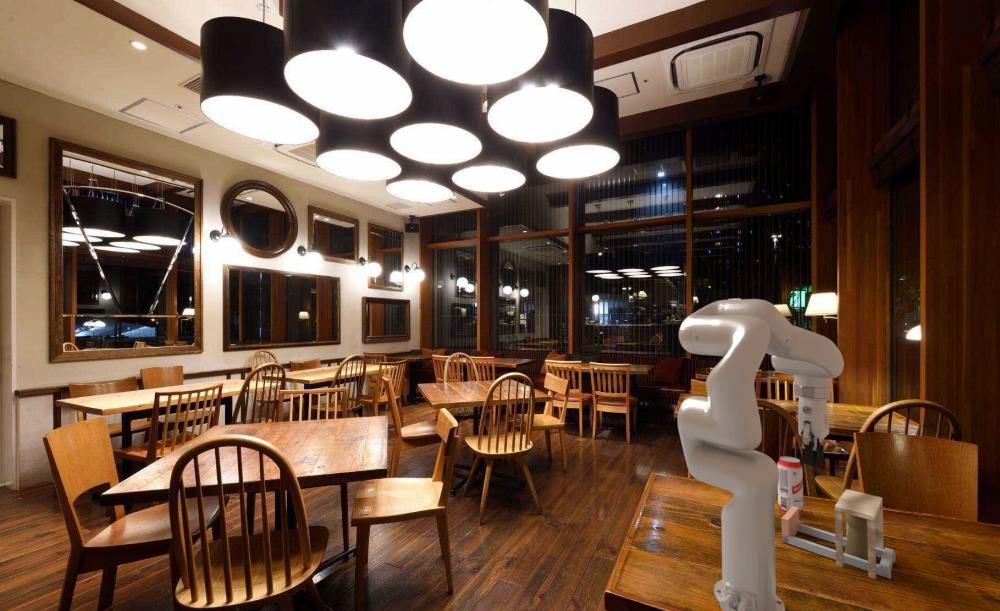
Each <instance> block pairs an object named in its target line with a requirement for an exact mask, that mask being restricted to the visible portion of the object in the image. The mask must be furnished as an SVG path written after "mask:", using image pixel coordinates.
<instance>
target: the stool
mask: <svg viewBox="0 0 1000 611" xmlns="http://www.w3.org/2000/svg"><path fill="white" fill-rule="evenodd" d="M883 509H884V508H883V497H882V496H881V497H880V496H877V495H873V494H869V493H865V492H860V491H855V490H852V489H848V488H846V489H845V490H844V492H843V493H842V494H841V495H840V497H839V499H838V500H837V502H836V504H835V505H834V525H835V526H834V527H835V528H834V529H835V533H834V534H835V538H836V543H835V550H836V560H835V566H838V567H840V568H844V563H843V553H844V546H843V537H844V532H843V531H844V528H843V525H844V524H843V513H844V514H845V515H846V514H851V515H854V516H858V517H861V518H865V519H867V535H868V571H867V572H868V574H867V575H868V578H871V579H874V580H876V579H877V574H876V562H877V558H876V547H878V548H881V549H885V547H884V518H883V517H884V516H883V515H884V514H883V513H884V512H883ZM848 527H849V525H848V524H847V522H846V521H845V532H846V533H845V538H847V534H848Z"/></svg>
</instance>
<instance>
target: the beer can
mask: <svg viewBox="0 0 1000 611" xmlns="http://www.w3.org/2000/svg"><path fill="white" fill-rule="evenodd" d="M776 464H777V466H778V469H779V484H778V489H777V508H778V509H779V511H780V512H781V513H782V514H784V515H785V514H786V512H787V511H788V510H789V509H790V508H791V507H792V506H794V507H798V508H799V517H800V516H803V514H804V484H803V483H804V482H803V481H804V480H803V479H804V477H803V466H802V463H801V460H800V459H799V458H796V457H794V456H793V457H792V456H787V455H786V456H784V455H783V456H779V460H778V461H777V463H776Z"/></svg>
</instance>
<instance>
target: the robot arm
mask: <svg viewBox="0 0 1000 611" xmlns="http://www.w3.org/2000/svg"><path fill="white" fill-rule="evenodd" d="M678 339H679V343H680V345H681V347H682V348H683V349H684V350H685V351H687V352H688V353H690V354H695V355H703V356H714V357H715V356H717V357H722V358H721V359H720V360H719V362H718V363H717V364H716V365H715V366H714V367H713V368H712V369H711V371H710V373H709V374H708V376H707V378H706V381H705V388H706V394H707V396H702V395H692V396H689V397H686V398H685V399H684V400H683V401H682V402H681V404H680V405H679V409H678V413H677V429H678V434H679V438H680V441H681V442H680V443H681V446H682V450H683V456H684V458H685V462H686V467H687V469H688V470H687V471H688V472H689V473H690V475H691V476H692V477H693V478H694V479H696V480H697V481H699V482H702V483H704V484H707V485H709V486H713V487H716V488H719V489H722V490H724V491H726V492H730V493H731V494H732V495H733V497H732V498H731V499H729V500H728V501H727V502H726V503H725V504H724V505H723V507H722V509H721V516H720V518H721V519H720V520H721V569H722V571H721V572H722V573H721V576H722V577H721V578H722V579H720V580H717V581H716V583H715V584H714V588H713V589H714V590H713V591H714V597H715V598H716V601H718V603H719V606H720V609H721V610H722V611H786V607H785V604H784V601H783V600H782V599H781V598H780V597H779V596H778V595H777V593H776V592H777V591H776V590H777V589H776V588H777V586H776V535H775V512H776V501H777V496H778V484H779V469H778V466H777V464H778V463H777V462H775V460H774V459H773V458H772V457H770V456H769V455H768V454H765V453H763V452H761V451H758V450H755V449H757V448H758V447H760V444H761V443H762V438H763V437H762V436H763V433H762V432H763V431H762V423H761V418H760V413H759V407H758V402H757V397H756V389H755V383H756V382H755V380H756V377H757V374H758V371H759V369H760V366H761V364H762V363H763V362H762V361H763V360H764V357H765V355H766V354H768V355H769V356H771V358H770V360H771V364H772V367H773V368H774V370H775V371H777V372H779V373H780V374H784V375H788V376H789V375H790V376H793V393H794V394H793V395H794V396H793V397H794V398H797V399H798V406H797V407H798V409H797V411H798V412H797V415H798V416H797V424H798V426H797V427H798V429H797V430H798V435H799V436H800V437H802V438H801V439H802V444H801V457H802V459H801V460H802V463H801V464H803V465H808V466H812V467H819V461H820V462H822V461H824V445H823V444H824V439H825V438H826V437H827V436H828V435H829V434H830V423H829V411H828V410H829V409H828V401H830V400H831V384H830V383H831V379H836V378H838V377H839V376H840V375H841V374H842V373H843V370H844V367H845V366H844V365H845V362H844V358H843V355H842V353H841V351H840V349H839V348H838V347H837V345H836V344H835V343H834V341H832V340H831V339H830V338H828V337H826V336H824V335H821V334H819V333H817V332H814V331H810V330H808V329H805V328H802V327H799V326H797V325H793V324H792V323H791V322H790V321H789V320H788V319H787V317H785V316H784V314H783V313H782V312H781V311H780V310H779V309H778V307H776V306H775V305H774V304H773V303H772V302H769V301H768V300H764V299H759V298H750V299H749V298H747V299H746V298H744V299H722V300H716V301H713V302H711V303H709V304H707V305H705V306H704V307H701V308H700V309H698V310H696V311H695V312H693V313H691V314H690V315H688V316H687V317H686V318H684V320H683V321H682V323H681V325H680V327H679V331H678Z"/></svg>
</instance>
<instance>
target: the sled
mask: <svg viewBox="0 0 1000 611" xmlns="http://www.w3.org/2000/svg"><path fill="white" fill-rule="evenodd" d="M780 520H781V521H780V522H781V542H783V543H785V544H789V545H791V546H795V547H797V548H800V549H804V550H806V551H809V552H812V553H815V554H818V555H820V556H823V557H825V558H830V559H833V560H835V561H836V549H834V548H830V547H827V546H825V545H824V546H823V545H821V544H818V543H815V542H812V541H809V540H806V539H803V538H800V537H797V536H796V535H797V533H798V532H800V533H803V534H806V535H809V536H812V537H815V538H818V539H822V540H825V541H828V542H831V543H834V544H836V538H835V533H832V532H829V531H826V530H824V529H823V530H822V529H819V528H816V527H813V526H809V525H806V524H803V523H800V516H799V508H798V507H794V506H792V507H791V508H790V509H789V510H788V511H787V512H786V514H784V515H783V516H782V517H781V518H780ZM846 541H847V538H846V536H843V547H846ZM876 557H877V558H880V559H881V560H880V562H879V563H877V564H876V575H878V576H881V577H884V578H887V579H890V580H892V568H893V564H894V563H896V552H894V549H892V548H888V547H886V546H885V547H884V549H881V548H878V547H876ZM843 564H846V565H849V566H852V567H855V568H858V569H861V570H863V571H867V572H868V561H867V560H864V559H861V558H858V557H855V556H851V555H848V554H845V552H843Z"/></svg>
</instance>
